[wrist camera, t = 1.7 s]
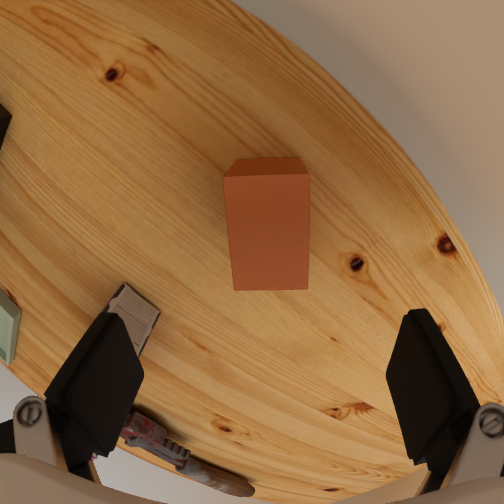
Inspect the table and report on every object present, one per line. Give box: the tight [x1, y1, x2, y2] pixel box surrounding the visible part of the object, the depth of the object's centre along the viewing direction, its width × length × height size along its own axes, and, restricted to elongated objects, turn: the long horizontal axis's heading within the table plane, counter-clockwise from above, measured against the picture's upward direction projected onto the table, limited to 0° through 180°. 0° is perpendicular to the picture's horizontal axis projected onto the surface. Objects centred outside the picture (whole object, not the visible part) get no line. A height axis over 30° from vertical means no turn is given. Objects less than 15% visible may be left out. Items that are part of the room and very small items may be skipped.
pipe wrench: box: [120, 412, 255, 497], centre depth 39 cm, size 40×12×5 cm, turn 43°
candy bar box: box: [44, 283, 161, 460], centre depth 21 cm, size 11×5×16 cm, turn 137°
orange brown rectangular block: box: [223, 158, 310, 290], centre depth 19 cm, size 7×4×6 cm, turn 4°
